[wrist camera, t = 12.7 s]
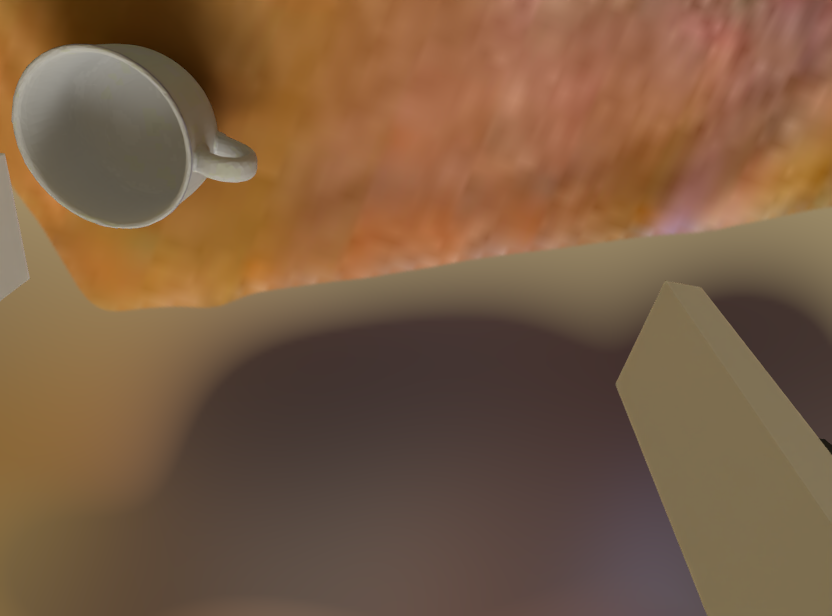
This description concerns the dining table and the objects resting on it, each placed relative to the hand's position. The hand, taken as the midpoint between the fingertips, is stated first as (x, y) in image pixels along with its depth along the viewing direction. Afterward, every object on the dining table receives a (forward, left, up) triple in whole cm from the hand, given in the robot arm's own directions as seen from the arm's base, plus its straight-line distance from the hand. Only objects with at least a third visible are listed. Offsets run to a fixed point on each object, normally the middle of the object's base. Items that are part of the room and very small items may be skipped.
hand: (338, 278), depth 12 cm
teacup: (+16, +7, -31) cm, 35 cm away
